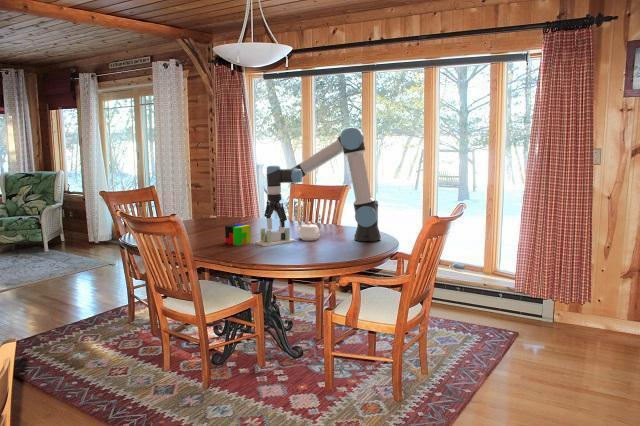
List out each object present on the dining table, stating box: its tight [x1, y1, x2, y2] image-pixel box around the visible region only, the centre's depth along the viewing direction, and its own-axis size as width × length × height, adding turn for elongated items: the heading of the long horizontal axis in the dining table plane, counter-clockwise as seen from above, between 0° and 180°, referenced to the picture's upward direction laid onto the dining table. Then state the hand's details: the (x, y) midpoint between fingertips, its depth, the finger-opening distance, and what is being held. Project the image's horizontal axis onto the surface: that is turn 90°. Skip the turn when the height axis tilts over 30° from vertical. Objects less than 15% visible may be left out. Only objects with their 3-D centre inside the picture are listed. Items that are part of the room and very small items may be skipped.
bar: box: [260, 229, 285, 243], centre depth 293 cm, size 4×16×5 cm, turn 126°
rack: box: [254, 225, 296, 248], centre depth 293 cm, size 10×20×8 cm, turn 126°
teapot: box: [297, 221, 323, 241], centre depth 302 cm, size 20×12×10 cm, turn 45°
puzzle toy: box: [224, 223, 252, 247], centre depth 293 cm, size 10×10×10 cm
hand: (275, 231), depth 293 cm, fingers open, 13 cm apart
